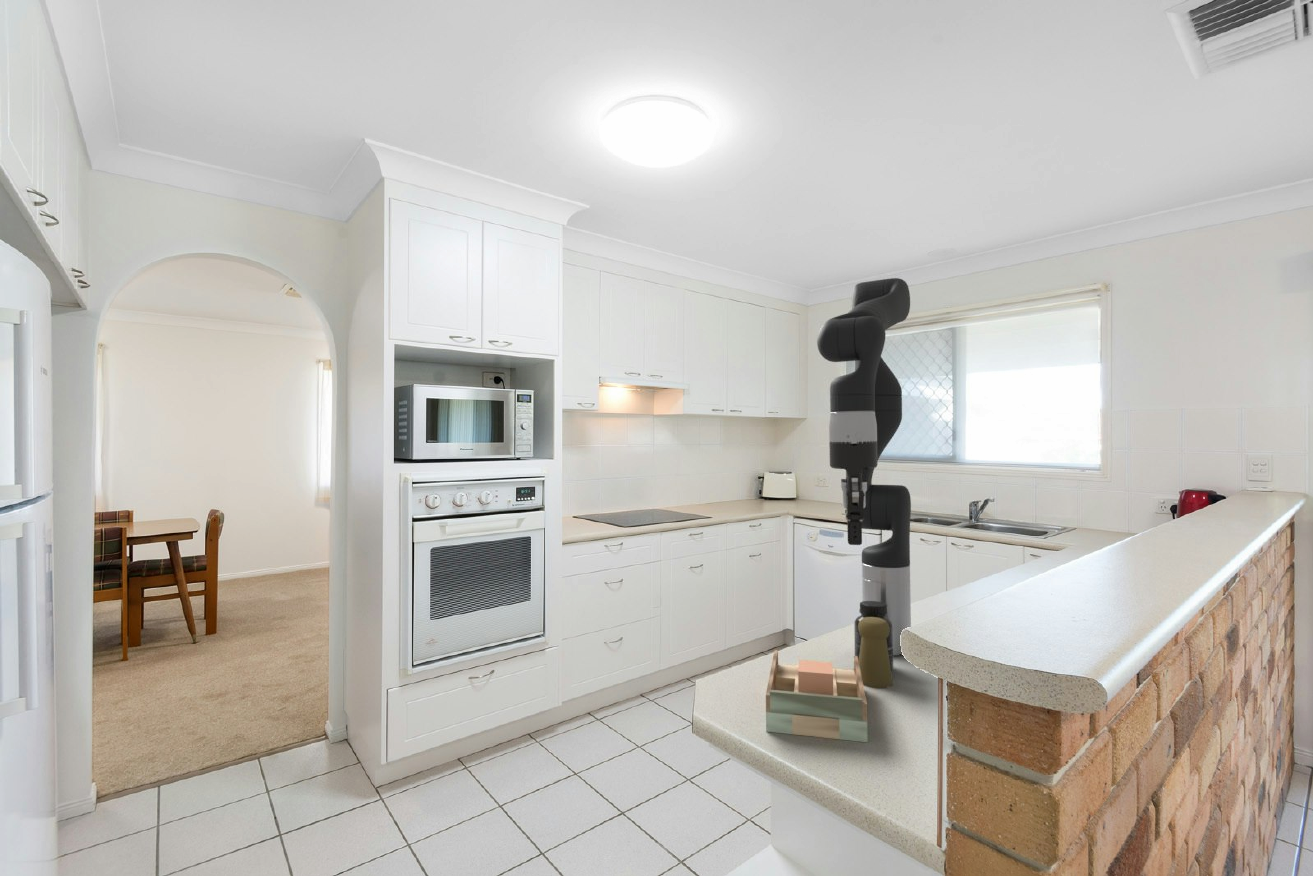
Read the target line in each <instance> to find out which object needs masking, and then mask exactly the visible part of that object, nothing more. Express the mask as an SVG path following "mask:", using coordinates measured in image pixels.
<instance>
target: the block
mask: <svg viewBox="0 0 1313 876" xmlns="http://www.w3.org/2000/svg"><path fill="white" fill-rule="evenodd" d="M798 665H799V668H798V692H801V693H812V694H824V695H833V668H834V666H833V665H834V664H833V662H830V661H817V660H804V659H799V660H798Z"/></svg>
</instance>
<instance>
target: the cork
mask: <svg viewBox="0 0 1313 876" xmlns="http://www.w3.org/2000/svg"><path fill="white" fill-rule="evenodd" d="M858 629H859V633H860V635H861V636H862V638H861V646H860V654H859V667H860V672H861V677H862V682H863V686H864V687H869V688H875V689H883V688H884V689H886V688H889V687H890V688H891V686H893V683H894V682H893V677H892V676H893V674H892V671H891V668H890V661H889V654H888V648H887V641H886V638H887V637H888V636H889V632H890V628H889V625H888V623H887V621H885V620H884V619H881V618H877V617H865V618H862V619H861V620H860V622H859V624H858Z"/></svg>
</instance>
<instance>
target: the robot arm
mask: <svg viewBox="0 0 1313 876" xmlns="http://www.w3.org/2000/svg"><path fill="white" fill-rule="evenodd" d="M910 309H911V294H910V290H909V285H908V283H907V281H905V280H904V279H902V278H899V277H898V278H897V277H894V278H893V277H892V278H883V279H876V280H870V281H869V280H868V281H864V282H859V283H856V284H855V285H854V287H853V288H852V294H851V309H850V311H848V312H847V313H844V314H841V315H838V316H834V317H832V318H829V319H828V320H826V321H825V322H824V323H823V324H822V326H821V327H820V329H819V331H818V333H817V337H816V338H817V339H816V344H817V350H818V352H819V353H820V354H819V355H821V357H823V359H824V360H827V361H828V362H832V363H841V362H842V363H843V362H845V363H846V362H853V361H854V371H853V372H851V373H848V374H845V375H841V376H837V377H835V378H833V379H832V380H831V381H830V385H829V386H830V387H829V402H830V407H829V408H830V412H829V416H830V417H829V425H828V431H829V432H828V434H829V435H828V439H829V440H828V442H829V445H828V446H829V467H830V468H832V469H837V470H845V478H840V484H841V485H840V487H841V491H842V505H843V507H844V508H845V511H844V514H846V515H845V520H846V523H847V525H846V526H847V527H846V528H847V530H846V531H847V543H848V545H851V546H861V545H862V544H863V530H876V531H889V532H892V533H891V534H892V535H891V537H890V538H888V539H887V540H885V541H882V542H879V543H877V544H873V545H869V546H867V547H864V548H863V549H862V551H861V582H862V583H861V586H862V587H861V591H862V593H861V594H862V598H861V599H862V601H877V602H882V603H885V604H887V612H888V615H887V616H886V618H888V619H889V620H890V621H891V622H892V624H893V656H903V655H902V652H901V646H900V635H901V632H902V630H903V629H905V628H907V627H911V628H912V613H911V611H912V606H911V602H912V601H911V600H912V599H911V553H910V552H911V551H910V550H911V549H910V547H911V544H910V543H911V542H910V541H911V540H910V539H911V538H910V536H911V535H910V534H911V518H912V517H911V514H912V500H911V494H910V491H909V489H908V488H907V487H906V486H905V485H899V484H898V485H897V484H873V483H872V482H873V475H874V470H875V468H877V467H878V462H879V459H880V458H881V455H882V454H883V452H884V450H885V448H886V447H887V446H888V445H889V443H890V442H891V440H892V439H893V438H894V436H895V434H896V432H897V431H898V430H899V427H900V425H901V423H902V419H903V393H902V392H903V391H902V386H901V383H900V382H899V380H898V379H897V377H896V375H895V374H894V372H893V371H892V370H891V369H890V367H889V366H888V364H887V363H886V362H885V361H884V359H883V357H882V354H883V350H884V347H885V343H886V335H887V334H886V331H887V330H888V329H890V328H891V327H893V326H895V325H897V324H898V323H901V322H904V321H905V320H906V319H907V318H908V316H909V313H910ZM862 601H861V602H862ZM899 654H901V655H899Z"/></svg>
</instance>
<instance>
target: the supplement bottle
mask: <svg viewBox="0 0 1313 876" xmlns="http://www.w3.org/2000/svg"><path fill="white" fill-rule="evenodd" d="M858 611H859V614H860V615H859V616H857V617H856V618H855V619H854V622H853V623H854V626H853V628H854V629H853V630H854V631H853V632H854V634H853V635H854V656H858V661H859V654H860V646H861V638H862V636H861V635H860V633H859V629H858V624H859V622H860V620H861V619H862V618H865V617H877V618H881V619H884V620H885V621H887V623H888V625H889V628H890V632H889V636H888V637H887V638H886V641H887V648H888V654H889V661H890V668H891V672H892V671H893V669H894V655H893V624H892V622H891V621H890V620H889V619H888V618H886V616H887V615H888V612H887V604H885V603H882V602H877V601H861V602H859V610H858Z"/></svg>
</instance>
